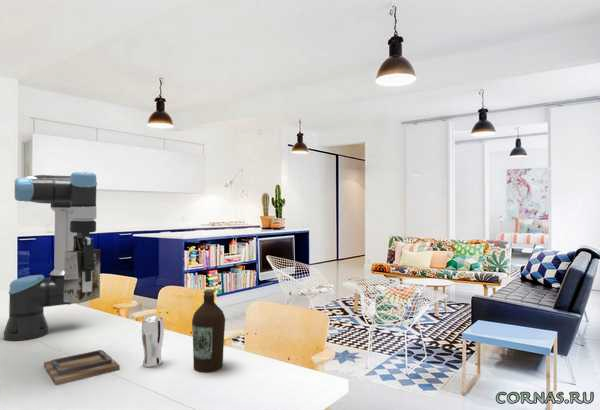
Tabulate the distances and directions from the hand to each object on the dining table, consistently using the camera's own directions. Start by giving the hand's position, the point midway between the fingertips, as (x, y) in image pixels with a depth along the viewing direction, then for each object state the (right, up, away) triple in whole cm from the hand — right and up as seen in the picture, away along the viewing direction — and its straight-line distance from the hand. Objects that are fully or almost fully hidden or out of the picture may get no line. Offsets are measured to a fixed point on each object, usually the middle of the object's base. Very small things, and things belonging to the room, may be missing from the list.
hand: (82, 289), depth 136 cm
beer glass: (+21, -26, +4) cm, 34 cm away
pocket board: (0, -26, 0) cm, 26 cm away
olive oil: (+40, -26, +2) cm, 48 cm away
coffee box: (0, -4, 0) cm, 4 cm away
